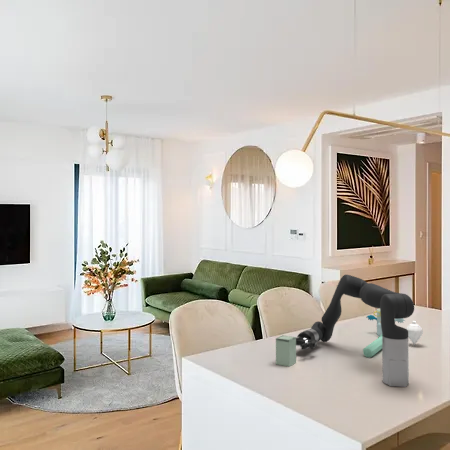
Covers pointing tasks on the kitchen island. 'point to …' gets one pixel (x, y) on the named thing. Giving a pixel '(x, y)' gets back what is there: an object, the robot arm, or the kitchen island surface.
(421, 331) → the spinning top
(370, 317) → the character sculpture
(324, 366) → the kitchen island surface
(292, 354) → the tall sage green box
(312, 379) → the kitchen island surface
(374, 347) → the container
